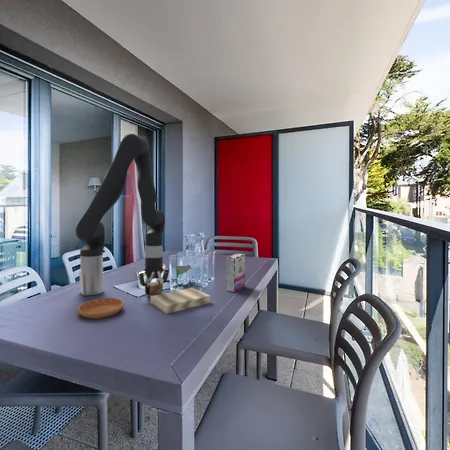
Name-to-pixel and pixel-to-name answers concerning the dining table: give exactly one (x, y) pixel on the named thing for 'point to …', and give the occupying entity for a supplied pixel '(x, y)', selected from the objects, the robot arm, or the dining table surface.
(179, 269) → the food container
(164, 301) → the wooden block
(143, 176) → the robot arm
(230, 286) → the candy bar box
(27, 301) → the dining table surface
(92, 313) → the saucer
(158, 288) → the walnut cube
